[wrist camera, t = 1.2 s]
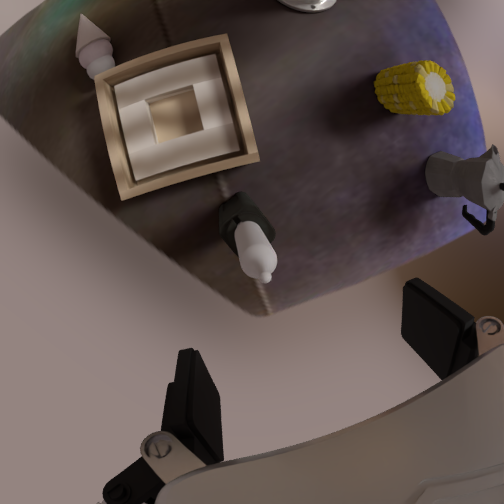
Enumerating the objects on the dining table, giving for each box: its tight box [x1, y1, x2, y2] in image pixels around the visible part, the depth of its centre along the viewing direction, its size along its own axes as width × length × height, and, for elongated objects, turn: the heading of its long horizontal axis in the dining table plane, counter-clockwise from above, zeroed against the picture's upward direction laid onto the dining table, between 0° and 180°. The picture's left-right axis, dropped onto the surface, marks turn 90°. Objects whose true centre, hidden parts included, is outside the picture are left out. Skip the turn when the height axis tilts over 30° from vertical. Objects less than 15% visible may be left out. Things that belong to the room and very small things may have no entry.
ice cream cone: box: [76, 14, 115, 80], centre depth 27 cm, size 6×6×15 cm
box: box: [94, 34, 260, 201], centre depth 34 cm, size 19×19×6 cm
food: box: [374, 60, 455, 115], centre depth 32 cm, size 14×11×9 cm
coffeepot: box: [425, 145, 504, 235], centre depth 36 cm, size 15×9×18 cm, turn 2°
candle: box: [219, 192, 277, 283], centre depth 30 cm, size 5×5×25 cm
